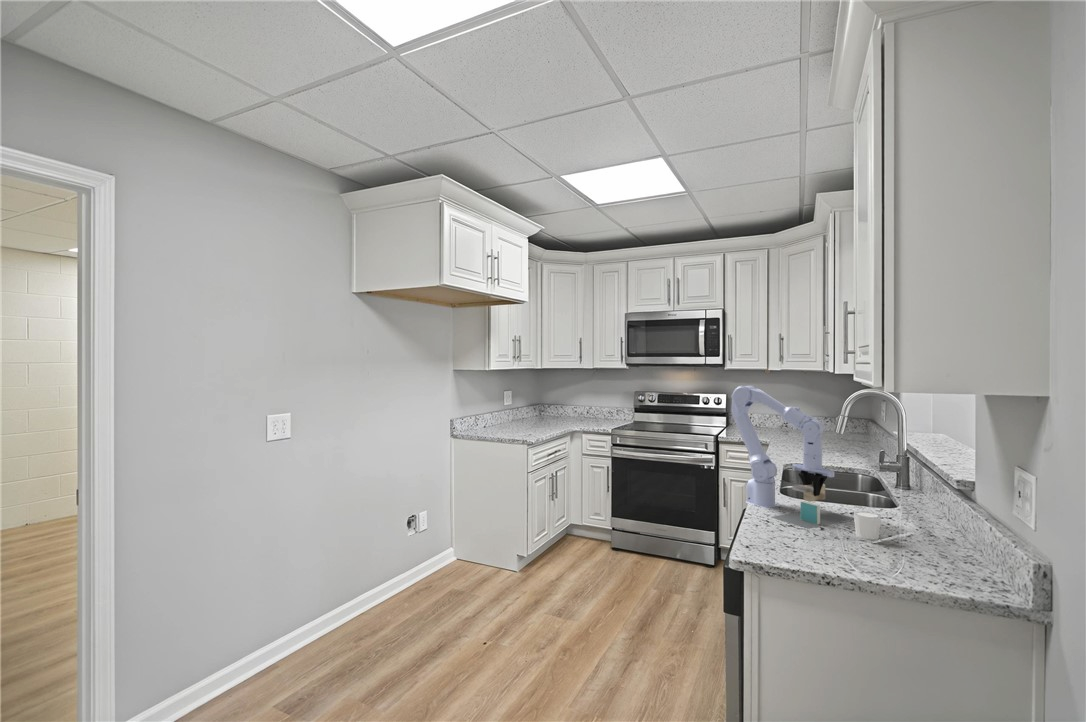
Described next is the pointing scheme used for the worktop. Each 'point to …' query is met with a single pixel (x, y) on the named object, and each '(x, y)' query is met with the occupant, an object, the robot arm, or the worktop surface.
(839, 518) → the mat
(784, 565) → the worktop surface
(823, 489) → the turner
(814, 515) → the tile
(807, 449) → the robot arm
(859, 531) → the white cup
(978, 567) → the worktop surface
